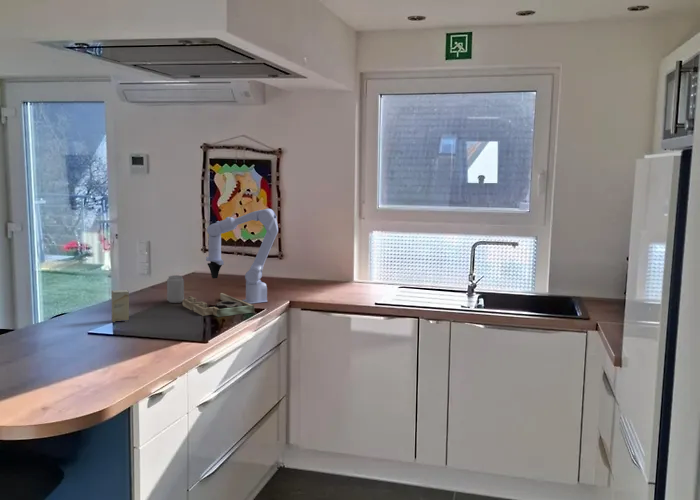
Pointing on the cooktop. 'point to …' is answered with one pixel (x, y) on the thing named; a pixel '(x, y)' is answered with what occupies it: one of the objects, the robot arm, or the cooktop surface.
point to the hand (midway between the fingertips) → (214, 278)
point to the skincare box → (120, 305)
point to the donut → (227, 304)
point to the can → (175, 289)
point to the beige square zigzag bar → (203, 310)
